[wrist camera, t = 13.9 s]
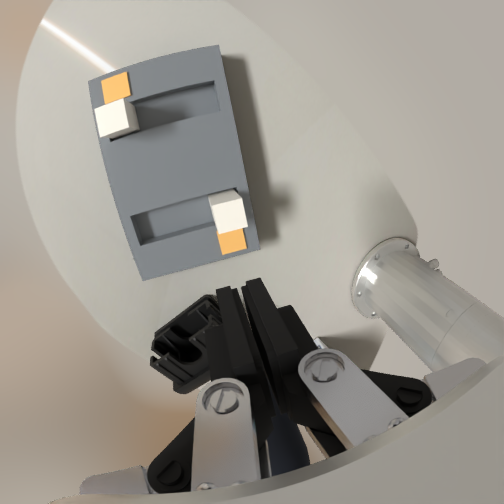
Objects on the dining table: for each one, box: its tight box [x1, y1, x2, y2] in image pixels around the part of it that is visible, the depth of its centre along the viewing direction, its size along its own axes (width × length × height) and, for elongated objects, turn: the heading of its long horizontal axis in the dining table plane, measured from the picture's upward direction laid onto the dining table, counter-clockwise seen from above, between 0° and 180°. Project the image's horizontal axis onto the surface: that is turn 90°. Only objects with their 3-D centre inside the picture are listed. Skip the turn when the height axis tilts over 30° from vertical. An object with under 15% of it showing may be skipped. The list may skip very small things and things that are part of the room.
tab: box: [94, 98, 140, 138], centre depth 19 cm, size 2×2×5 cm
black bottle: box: [266, 375, 310, 477], centre depth 24 cm, size 6×6×30 cm
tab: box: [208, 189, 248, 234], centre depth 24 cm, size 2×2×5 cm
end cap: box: [150, 295, 223, 394], centre depth 30 cm, size 10×7×7 cm
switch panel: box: [88, 45, 260, 281], centre depth 23 cm, size 12×20×3 cm, turn 11°
